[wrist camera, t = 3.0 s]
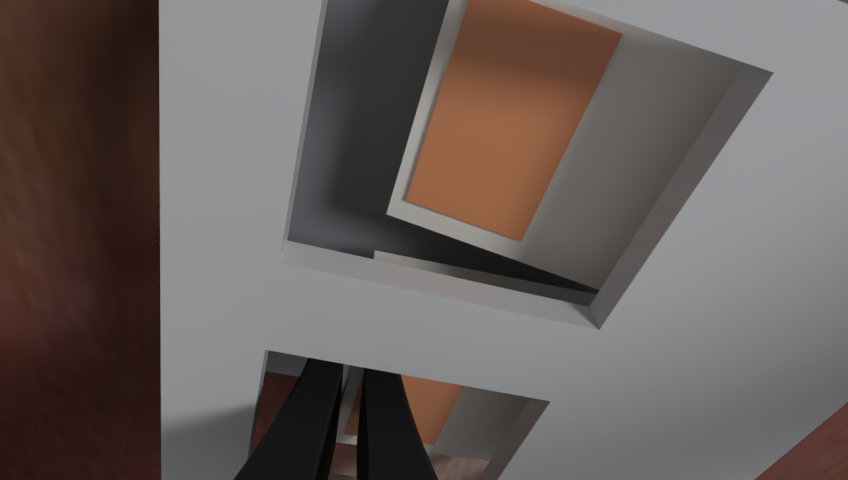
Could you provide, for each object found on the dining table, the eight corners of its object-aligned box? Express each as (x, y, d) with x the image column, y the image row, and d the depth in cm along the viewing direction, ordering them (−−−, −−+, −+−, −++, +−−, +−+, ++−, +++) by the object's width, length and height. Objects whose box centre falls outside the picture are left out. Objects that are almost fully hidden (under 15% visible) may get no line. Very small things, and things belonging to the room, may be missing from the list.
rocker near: (847, 69, 9) (915, 97, 7) (688, 278, 12) (712, 332, 10) (478, -63, 9) (466, -62, 7) (405, 178, 12) (385, 216, 10)
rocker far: (634, 301, 13) (665, 356, 12) (554, 415, 16) (571, 472, 14) (374, 250, 12) (372, 305, 10) (335, 385, 14) (328, 444, 13)
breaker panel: (896, 19, 12) (1300, 123, 7) (617, 382, 20) (697, 573, 14) (277, -214, 10) (92, -360, 4) (227, 306, 17) (138, 505, 12)
